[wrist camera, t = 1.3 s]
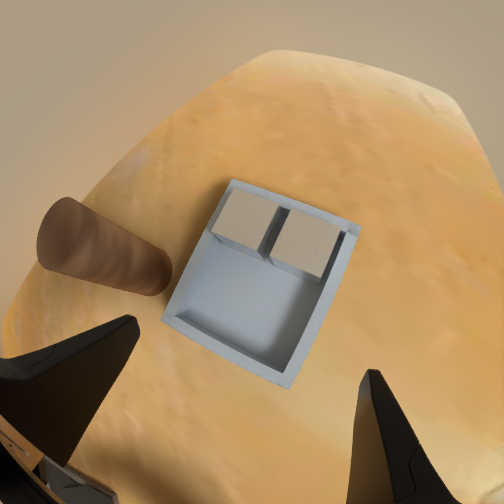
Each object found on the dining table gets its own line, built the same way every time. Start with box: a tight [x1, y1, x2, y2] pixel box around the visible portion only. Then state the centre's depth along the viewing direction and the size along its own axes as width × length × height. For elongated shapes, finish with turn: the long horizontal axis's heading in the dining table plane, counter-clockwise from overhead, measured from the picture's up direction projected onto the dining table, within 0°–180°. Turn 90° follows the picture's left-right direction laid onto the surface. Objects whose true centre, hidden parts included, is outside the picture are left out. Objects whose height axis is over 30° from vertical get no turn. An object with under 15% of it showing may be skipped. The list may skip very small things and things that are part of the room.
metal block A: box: [269, 208, 341, 285], centre depth 21 cm, size 4×4×4 cm
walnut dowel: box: [37, 197, 172, 296], centre depth 20 cm, size 5×5×13 cm
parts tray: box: [161, 179, 362, 390], centre depth 23 cm, size 14×12×3 cm
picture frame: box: [43, 455, 119, 504], centre depth 20 cm, size 13×2×18 cm
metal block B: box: [211, 188, 284, 262], centre depth 23 cm, size 4×4×4 cm
